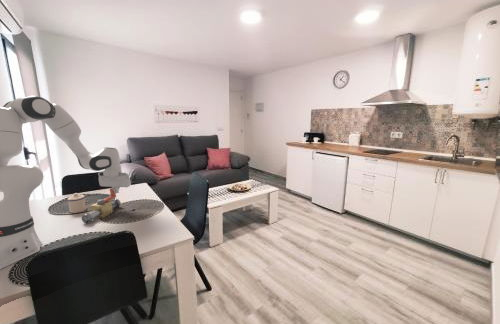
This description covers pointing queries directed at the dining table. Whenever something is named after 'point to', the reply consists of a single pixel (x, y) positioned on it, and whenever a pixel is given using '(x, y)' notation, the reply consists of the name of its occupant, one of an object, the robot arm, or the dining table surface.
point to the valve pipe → (100, 210)
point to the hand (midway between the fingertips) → (116, 192)
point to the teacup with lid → (77, 203)
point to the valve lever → (107, 197)
